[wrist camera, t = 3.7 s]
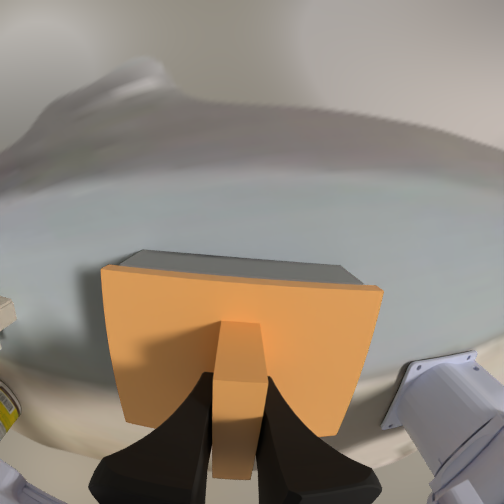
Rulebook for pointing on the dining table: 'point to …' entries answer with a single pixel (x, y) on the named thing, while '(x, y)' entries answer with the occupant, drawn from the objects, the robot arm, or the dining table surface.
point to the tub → (241, 267)
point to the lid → (236, 350)
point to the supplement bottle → (7, 409)
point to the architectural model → (6, 313)
